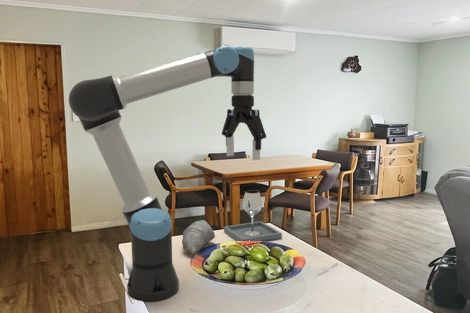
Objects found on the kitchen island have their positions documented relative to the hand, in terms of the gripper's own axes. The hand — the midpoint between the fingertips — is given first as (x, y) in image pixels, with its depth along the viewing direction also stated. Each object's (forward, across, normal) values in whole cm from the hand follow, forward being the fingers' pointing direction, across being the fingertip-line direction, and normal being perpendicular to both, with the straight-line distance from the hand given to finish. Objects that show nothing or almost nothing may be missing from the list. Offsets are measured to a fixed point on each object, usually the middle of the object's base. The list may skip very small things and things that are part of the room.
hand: (242, 157), depth 135 cm
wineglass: (+36, +17, -20) cm, 45 cm away
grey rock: (+37, +20, +6) cm, 42 cm away
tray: (+37, +17, -20) cm, 45 cm away
